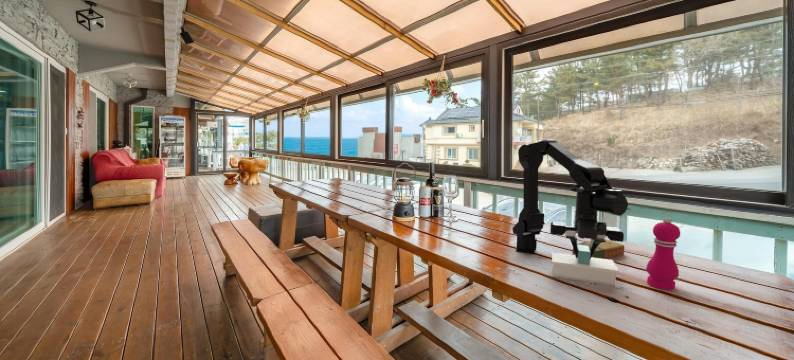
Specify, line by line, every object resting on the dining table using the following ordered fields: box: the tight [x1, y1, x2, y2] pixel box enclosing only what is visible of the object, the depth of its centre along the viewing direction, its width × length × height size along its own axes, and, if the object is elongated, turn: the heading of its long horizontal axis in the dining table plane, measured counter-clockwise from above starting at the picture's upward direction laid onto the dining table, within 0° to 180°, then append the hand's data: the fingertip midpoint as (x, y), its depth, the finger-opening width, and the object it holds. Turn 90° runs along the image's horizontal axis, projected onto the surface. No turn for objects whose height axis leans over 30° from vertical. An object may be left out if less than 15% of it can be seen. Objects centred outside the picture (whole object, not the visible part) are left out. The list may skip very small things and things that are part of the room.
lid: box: [551, 245, 619, 274], centre depth 99 cm, size 17×9×5 cm, turn 66°
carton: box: [571, 238, 625, 259], centre depth 118 cm, size 8×16×4 cm, turn 112°
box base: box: [552, 264, 617, 287], centre depth 100 cm, size 16×8×4 cm, turn 66°
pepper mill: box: [645, 216, 681, 291], centre depth 92 cm, size 7×7×20 cm
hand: (582, 258), depth 99 cm, fingers closed on lid, 3 cm apart
